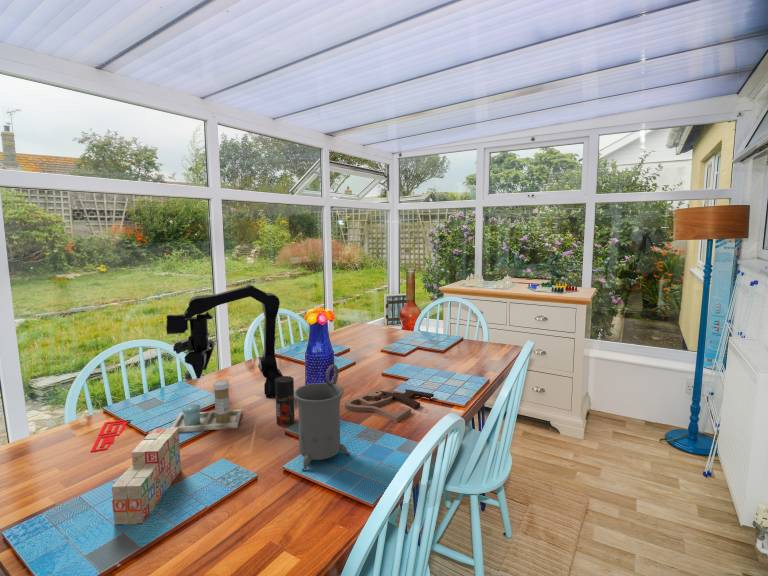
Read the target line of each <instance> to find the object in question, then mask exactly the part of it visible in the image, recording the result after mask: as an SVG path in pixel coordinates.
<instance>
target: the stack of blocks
mask: <svg viewBox="0 0 768 576" xmlns="http://www.w3.org/2000/svg"><path fill="white" fill-rule="evenodd" d="M179 433H180V432H178V428H171V427H168V428H154V429H153V430H152V431H151V432H150V433H148V434H147V435H146V436H145V437H144V438H143V439H142V441H140V442H139V444H138V445H137V446H136V447H135V448H134V449H133V450H132V451H131V459H132V460H131V462H132V463H131V465H130V466H129V467H128V469H127V470H125V472H124V473H122V475H121V476H120V477H119V478H118V480H116V482H114V483H113V485H112V486H111V494H112V495H111V496H112V499H111V501H112V511H113V521H114V522H113V523H114V525H115V524H123V525H138V524H137V523H143V522H145V521H146V520H145V519H147V518H148V517H149V516H150V514H151V513H152V512H153V510H154V509H155V507H156V506H157V505H158V503H159V502H160V501H159V500H161V499H162V497H163V496H162V495H165V493H166V492H167V491H168V489H169V488H170V486H171V484H172V483H173V482H175V479H176V478H177V476H178V475H179V474H180V472H182V465H181V463H182V462H181V449H180V447H181V446H180V437H179V436H180V435H179ZM167 488H168V489H167ZM165 491H166V492H165ZM164 492H165V493H164ZM160 498H161V499H160ZM158 501H159V502H158ZM156 504H157V505H156ZM151 511H152V512H151ZM147 516H148V517H147ZM144 520H145V521H144ZM143 524H144V523H143Z"/></svg>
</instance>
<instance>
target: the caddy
mask: <svg viewBox="0 0 768 576" xmlns="http://www.w3.org/2000/svg"><path fill="white" fill-rule="evenodd" d="M242 410H243V409H242V408H240V409H239V408H238V409H230V411H229V413H230V421H228V422H227V423H217V422H216V412H215V410H214V411H213V410H212V411H210V410H209V411H200V424H199V425H193V426H184V412H183V413H179V414H178V415H177V417H176V419H175V420H174V422H173V423H172V424H171V426H170V428H178V432H179V433H188V432H200V431H215V430H226V429H227V430H229V429H237V428H238V426H239V425H240V424H239V423H240V420H241V417H242V415H243V412H242Z"/></svg>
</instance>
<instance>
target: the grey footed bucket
mask: <svg viewBox="0 0 768 576" xmlns="http://www.w3.org/2000/svg"><path fill="white" fill-rule="evenodd" d="M332 369H334V373H335V374H334V375H332V378H331V380H330V373H331V370H332ZM338 378H339V368H338V365H336V364H330V365H329V367H328V368H327V369H326V371H325V382H316V383H315V382H313V383H308V384H305V385H302V386H299V387H298V388H297V389H294V399H295V400H296V403H297V410H298V414H297V415H298V442H299V443H298V444H299V445H298V447H299V454H300V455H301V456H302V457H304V459H303V465H302V469H303V470H304V469H307V468H308V467H309V464H310V463H311V461H313V460H317V461H318V460H319V461H320V460H327V459H330V458H332V457H334V456H336V455H337V454H338V453H339V452H342V453H343V454H345V455H346V454H349V455H351V453H350V451H348V448H347V446H346V445H344V444H343V443H341V414H340V412H341V411H340V409H341V399H342V396H343V394H344V389H343V387H341V386H340V385H338V384H337V382H338ZM302 469H301V470H302ZM303 470H302V471H303Z"/></svg>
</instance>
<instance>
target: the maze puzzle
mask: <svg viewBox="0 0 768 576" xmlns="http://www.w3.org/2000/svg"><path fill="white" fill-rule="evenodd" d="M124 420H125V419H120V420H113V421H105V422H103V425H102V427H101V429H100V431H99V433H98V436H97V437H96V440H95V441H94V444H93V445H92V448H91V449H90V453H96V452H101V451H106V450H109V449H110V447H112V445H113V444H114V443H115V437H117V438H119V437H120V435H122V433H123V432H124V431H125V430H126V426H127V424H128V423H127V421H124ZM108 425H109V426H108ZM120 425H121V428H120V431H119V433H118V430H119V427H120ZM107 426H108V428H107ZM113 427H114V429H113ZM106 428H107V430H106ZM112 429H113V431H112ZM105 430H106V432H105ZM101 439H102V441H101ZM100 441H101V444H100V446H99V443H100ZM105 445H107V446H106V447H105ZM98 446H99V448H97V447H98Z"/></svg>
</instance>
